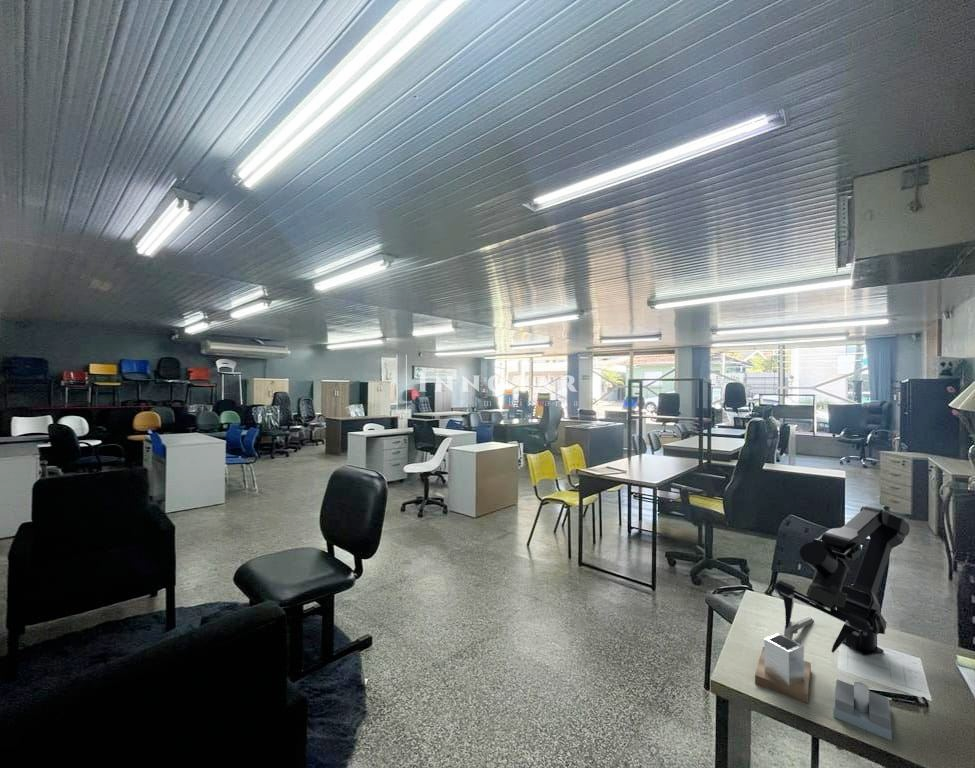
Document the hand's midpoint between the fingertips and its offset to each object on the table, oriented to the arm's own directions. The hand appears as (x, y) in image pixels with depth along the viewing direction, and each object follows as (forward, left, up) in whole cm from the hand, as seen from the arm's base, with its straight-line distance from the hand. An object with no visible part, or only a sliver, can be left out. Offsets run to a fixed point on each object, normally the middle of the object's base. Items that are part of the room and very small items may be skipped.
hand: (808, 639), depth 102 cm
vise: (0, +12, -9) cm, 15 cm away
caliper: (-14, -15, -9) cm, 23 cm away
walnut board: (+7, -1, -9) cm, 11 cm away
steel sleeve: (+9, +1, -7) cm, 11 cm away
